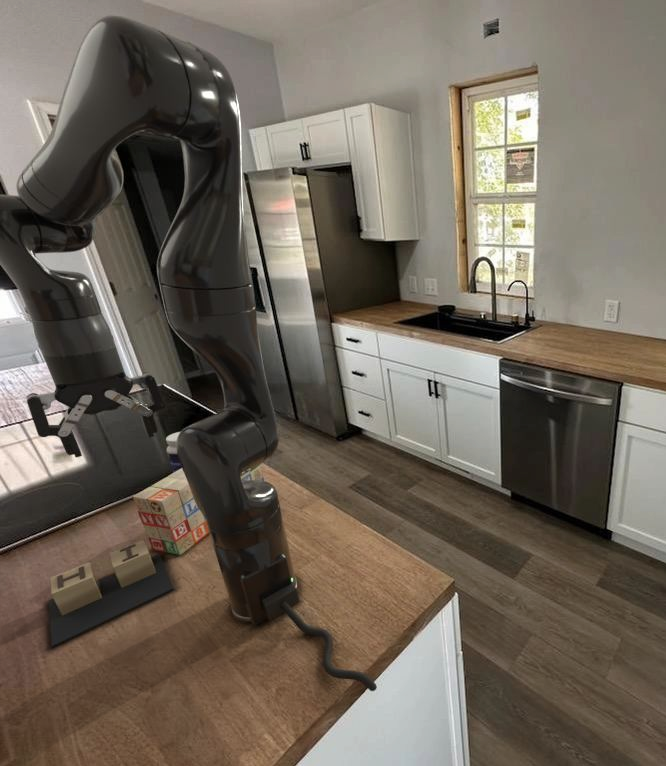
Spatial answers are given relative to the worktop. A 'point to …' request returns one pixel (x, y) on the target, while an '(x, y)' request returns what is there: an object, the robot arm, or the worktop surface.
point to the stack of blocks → (175, 512)
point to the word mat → (109, 603)
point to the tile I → (132, 563)
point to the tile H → (75, 588)
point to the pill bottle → (173, 451)
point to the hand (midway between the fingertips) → (116, 445)
